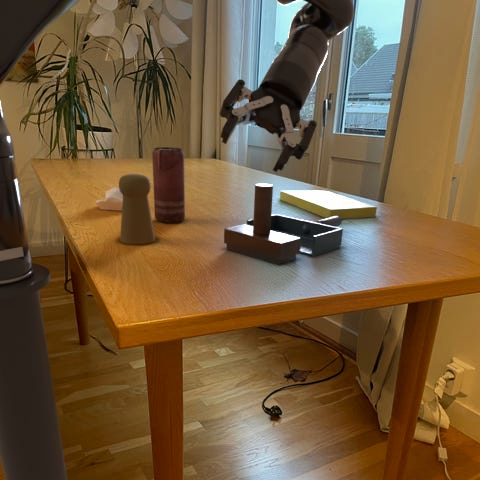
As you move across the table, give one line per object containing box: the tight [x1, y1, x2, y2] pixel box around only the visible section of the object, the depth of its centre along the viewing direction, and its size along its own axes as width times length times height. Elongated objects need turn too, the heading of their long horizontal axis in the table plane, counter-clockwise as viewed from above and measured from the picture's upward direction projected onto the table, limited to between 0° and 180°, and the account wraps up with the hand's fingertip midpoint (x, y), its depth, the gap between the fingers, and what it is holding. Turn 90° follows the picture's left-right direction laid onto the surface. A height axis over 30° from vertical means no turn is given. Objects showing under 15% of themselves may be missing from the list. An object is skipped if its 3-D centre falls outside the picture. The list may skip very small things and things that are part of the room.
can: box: [151, 146, 186, 224], centre depth 94 cm, size 6×6×14 cm
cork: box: [118, 173, 156, 245], centre depth 81 cm, size 6×6×11 cm
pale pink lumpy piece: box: [95, 186, 123, 212], centre depth 106 cm, size 10×4×10 cm
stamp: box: [223, 183, 301, 265], centre depth 75 cm, size 5×12×11 cm, turn 47°
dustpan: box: [246, 213, 344, 257], centre depth 88 cm, size 19×15×3 cm
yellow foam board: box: [279, 190, 378, 220], centre depth 115 cm, size 12×2×24 cm
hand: (250, 154), depth 70 cm, fingers open, 8 cm apart
